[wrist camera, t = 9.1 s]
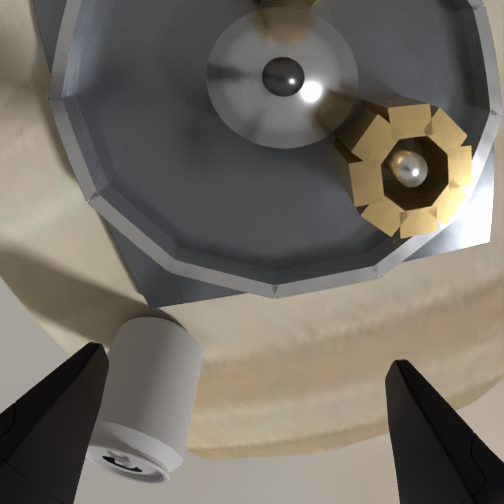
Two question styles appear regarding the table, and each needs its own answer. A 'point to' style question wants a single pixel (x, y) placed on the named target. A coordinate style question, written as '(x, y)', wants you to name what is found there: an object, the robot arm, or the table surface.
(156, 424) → the can
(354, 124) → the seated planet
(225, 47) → the domed metal knob cap
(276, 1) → the hollow octagonal wooden tube
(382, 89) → the tray
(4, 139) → the table surface
